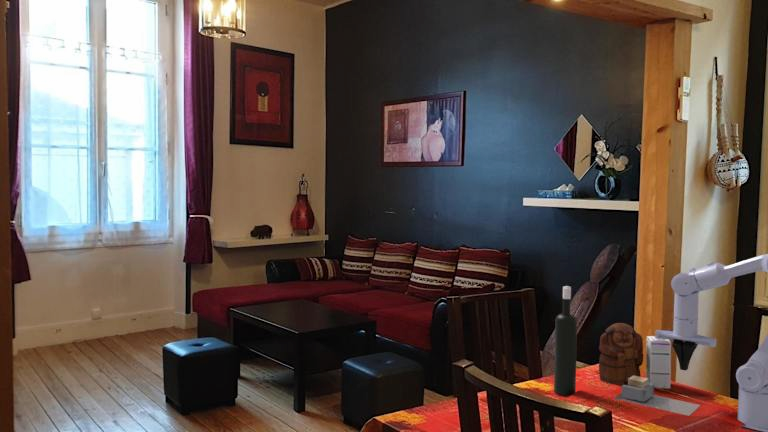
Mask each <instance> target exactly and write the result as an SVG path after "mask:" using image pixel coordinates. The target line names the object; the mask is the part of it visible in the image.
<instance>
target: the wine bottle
mask: <svg viewBox="0 0 768 432" xmlns="http://www.w3.org/2000/svg"><path fill="white" fill-rule="evenodd" d="M571 299H572V286H569V285H565V286H562V313H559V314H558V315H557V316H556V317H555V327H554V328H555V329H554V333H555V334H554V373H553V374H554V378H553V379H554V380H553V392H554V394H555V393H556V394H555V395H557V394H558V395H557V396H561V395H564V396H563V397H571V396H574V394H576V387H577V386H576V383H577V381H576V378H577V340H578V338H577V337H578V335H577V333H578V320H577V317H576V316H575V315H574V314H571Z"/></svg>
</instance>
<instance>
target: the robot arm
mask: <svg viewBox="0 0 768 432" xmlns="http://www.w3.org/2000/svg"><path fill="white" fill-rule="evenodd" d="M760 271H763V272H765V273H768V253H766V254H762V255H757V256H754V257H751V258H748V259H746V260H745V259H744V260H742V261H738V262H736V263H732V264H729V265H726V264H723V263H720V262H716V263H715V262H714V261H711V262H708V263H706V266H702V267H699V268H694V267H692V268H690V269H689V271H687V272H679V273H678V274H676V275H674V276H673V278H672V279H671V281H670V286H671V289H672V290H673V292H674V300H673V301H674V302H673V328H672V329H673V330H662V329H657V330H655V335H654V336H655V338H663V339H669V340H670V341H672V342H671V347H672V348H673V350H674V352H675V355H676V357H677V359H678V363H679V370H681V371H687V370H688V369H689V365H690V362H691V359H692V357H693V354H694V352H695V351H696V349H697V347H698V345H700V346H701V345H702V346H707V347H710V348H715V347H717V338H714V337H709V336H705V335H700V334H698V330H699V329H698V328H699V327H698V325H699V323H698V321H699V293H700V292H704V291H708V290H712V289H715V288H719V287H722V286H723V287H724V286H727V285H728V284H729V283H730V280H731V279H732V278H735V277H739V276H744V275H748V274H752V273H756V272H760ZM735 378H736V382H737V383H738V401H737V402H738V404H737V406H738V407H737V420H738V421H739V422H741V423H743V425H742V426H741V427H742V428H745V429H750V430H753V431H754V430H755V431H759V432H768V332H767V333H766V335H765V336H764V338H763V340H762V342H761V344H760V345H759V347H758V349H757V350H756V351H755V352H754V353H753V354H752V355H751V356H750V358H749V359H748V361H747V362H746V363H745V364H743V365H741V366H739V367H738V368H737V369H736V373H735Z"/></svg>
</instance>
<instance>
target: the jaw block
mask: <svg viewBox="0 0 768 432" xmlns="http://www.w3.org/2000/svg"><path fill="white" fill-rule="evenodd" d="M648 379H649V378H646V377H643V376H641V377H639V376H634V375H633V376H632V377H630V378H629V379H628V384H627V386H631V387H636V388H641V389H643V388H644V387H646V386H647V385H648Z"/></svg>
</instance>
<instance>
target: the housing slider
mask: <svg viewBox="0 0 768 432" xmlns="http://www.w3.org/2000/svg"><path fill="white" fill-rule="evenodd" d="M621 393H622V397H625V398H630V399H634V400H639V401H643V402H645V401H646V400H648V399H649V398H650V397H652V396H653V395H655V387H654V384H652V383H648V385H647V386H646V387H644V388H643V389H641V388H636V387H631V386H628V384H624V385H621Z"/></svg>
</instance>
